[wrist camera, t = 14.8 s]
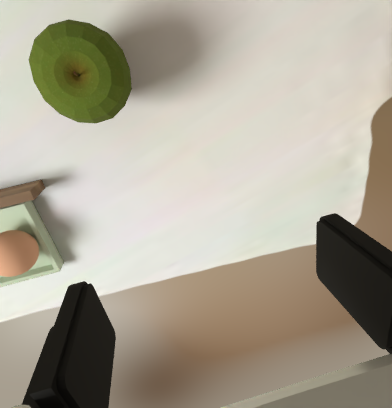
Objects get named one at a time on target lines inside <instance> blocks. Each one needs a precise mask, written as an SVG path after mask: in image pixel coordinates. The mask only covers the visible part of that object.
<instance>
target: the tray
mask: <svg viewBox="0 0 392 408" xmlns="http://www.w3.org/2000/svg"><path fill="white" fill-rule="evenodd" d="M9 230H19V231H24V232H26V233H28V234H30V235H31V236H32V237H34V239H35V240H36V241H37V243H38V246H39V256H38V259H37V261H36V263H35V264H34V266H33V267H32V268H31V269H29V270H28V271H27V272H25V273H23V274H21V275H17V276H12V277H5V276H0V287H3V286H7V285H11V284H14V283H18V282H22V281H25V280H29V279H33V278H37V277H40V276H44V275H48V274H52V273H55V272H59V271H60V270H61V268H62V266H63V263H64V262H63V260H62V258H61V256H60V254H59V252H58V250H57V248H56V247H55V245H54V243H53V241H52V239H51V237H50V235H49V233H48V231H47V229H46V227H45V225H44V224H43V222H42V220H41V218H40V216H39V214H38V212H37V210H36V208H35V206H34V204H33V202H32V201H27V202H23V203H19V204H15V205H11V206H7V207H2V208H0V233H2V232H5V231H9Z"/></svg>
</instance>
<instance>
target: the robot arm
mask: <svg viewBox="0 0 392 408" xmlns="http://www.w3.org/2000/svg"><path fill="white" fill-rule="evenodd" d="M316 246H317V247H316V250H317V253H316V254H317V255H316V259H317V260H316V272H317V276H318V278H319V279H320V281H321V282H322V283H323V284H324V285H325V286H326V287H327V289H328V290H329V291H330V292H331V293H332V294H333V295H334V297H335V298H336V299H337V300H338V301H339V302H340V303H341V304H342V306H343V307H344V308H345V309H346V310H347V311H348V312H349V313H350V315H351V316H352V317H353V318H354V319H355V320H356V321H357V323H358V324H359V325H360V326H361V327H362V328H363V329H364V330H365V331H366V333H367V334H368V335H369V336H370V337H371V338H372V339H373V341H374V342H375V343H376V344H377V345H378V346H379V347H380V348H382V349H386V350H387V351H388V352H389V353H390V354H389V355H386V356H382V357H379V358H376V359H373V360H369V361H367V362H363V363H360V364H357V365H354V366H351V367H347V368H344V369H341V370H337V371H334V372H331V373H328V374H325V375H321V376H318V377H315V378H312V379H309V380H306V381H302V382H299V383H296V384H293V385H290V386H287V387H284V388H281V389H277V390H274V391H271V392H268V393H265V394H262V395H259V396H255V397H252V398H249V399H246V400H243V401H240V402H237V403H234V404H231V405H227V406H224V407H222V408H392V252H391V251H390V250H389V249H387V248H386V247H384V246H383V245H381V244H380V243H379V242H377V241H376V240H374V239H373V238H371V237H369V236H368V235H367V234H365V233H364V232H362V231H361V230H360V229H358V228H357V227H355V226H354V225H352V224H351V223H350V222H348V221H347V220H345V219H344V218H342V217H341V216H339V215H338V214H336V213H334V214H330V215H326V216H323V217H321V218H320V221H318V222H317V240H316ZM115 340H116V337H115V331H114V328H113V326H112V324H111V322H110V320H109V318H108V316H107V314H106V312H105V310H104V308H103V306H102V304H101V302H100V300H99V297H98V295H97V293H96V291H95V289H94V287H93V285H92V284H87V283H86V282H85V281H84V282H80V283H76V284H73V285H70V286H69V287H68V289H67V291H66V294H65V297H64V300H63V302H62V305H61V308H60V311H59V314H58V317H57V319H56V322H55V325H54V326H53V327H52V328H51V329H50V331H49V333H48V336H47V338H46V341H45V344H44V346H43V349H42V352H41V354H40V357H39V360H38V363H37V365H36V368H35V371H34V373H33V376H32V379H31V381H30V384H29V387H28V389H27V392H26V395H25V397H24V400H23V403H22V405H18V406H14V407H12V408H108V406H109V396H110V387H111V377H112V368H113V358H114V349H115Z"/></svg>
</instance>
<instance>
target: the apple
mask: <svg viewBox="0 0 392 408" xmlns="http://www.w3.org/2000/svg"><path fill="white" fill-rule="evenodd" d="M29 63H30V67H31V71H32V76H33V80H34V83H35V84H36V86H37V88H38V89H39V91H40V93H41V95H42V96H43V98H44V100H45V101H46V102H47V103H48V104H49V105H51V106H52V107H53V108H54V109H55V110H56V111H57V112H59V113H60V114H61V115H63V116H66V117H68V118H70V119H72V120H75V121H77V122H84V123H99V122H102V121H105V120H108V119H111V118H113V117H114V116H115V115H116V114H117V113H118V112H119V111H120V110H121V109H122V108H123V107H124V106H125V104H126V101H127V99H128V97H129V94H130V92H131V89H132V88H131V77H130V69H129V66H128V63H127V61H126V58H125V55H124V53H123V50H122V49H121V48H120V47H119V45H118V44H117V43H116V42H115V41H114V39H113V38H112V37H111V36H110V35H109V34H108V33H107V32H105V31H103V30H101V29H99V28H97V27H95V26H93V25H92V24H90V23H85V22H79V21H73V20H66V21H62V22H58V23H55V24H51V25H49V26H48V27H47V28H46V29H45V30H44V31H43V32H41V33H40V34H39V35H38V36H37V37H36V38H35V39H34V43H33V46H32V50H31V54H30V57H29Z"/></svg>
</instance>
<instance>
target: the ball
mask: <svg viewBox="0 0 392 408" xmlns="http://www.w3.org/2000/svg"><path fill="white" fill-rule="evenodd" d="M38 256H39V246H38V243H37V241H36V240H35V239H34V237H32V236H31V235H30V234H28V233H26V232H24V231H19V230H9V231H5V232H2V233H0V276H5V277H12V276H17V275H21V274H23V273H25V272H27V271H28V270H29V269H31V268H32V267H33V266H34V264H35V263H36V261H37V259H38Z"/></svg>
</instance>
